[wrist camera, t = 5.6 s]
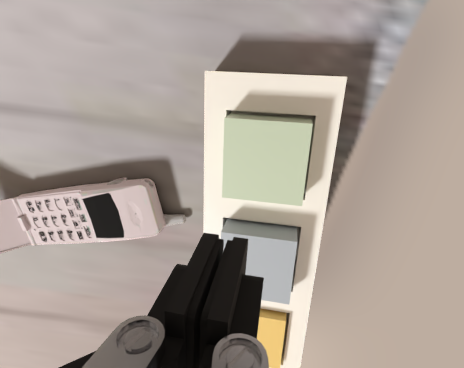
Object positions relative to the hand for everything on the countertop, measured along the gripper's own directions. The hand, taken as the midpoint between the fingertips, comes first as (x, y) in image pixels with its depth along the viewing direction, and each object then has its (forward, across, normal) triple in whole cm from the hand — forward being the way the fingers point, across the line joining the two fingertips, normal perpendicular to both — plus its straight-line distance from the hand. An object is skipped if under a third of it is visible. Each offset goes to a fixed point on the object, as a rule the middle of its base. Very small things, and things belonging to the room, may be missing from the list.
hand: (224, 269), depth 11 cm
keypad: (+16, -1, +8) cm, 18 cm away
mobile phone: (+17, +19, +8) cm, 27 cm away
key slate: (+14, -1, +8) cm, 16 cm away
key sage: (+14, -1, -1) cm, 14 cm away
